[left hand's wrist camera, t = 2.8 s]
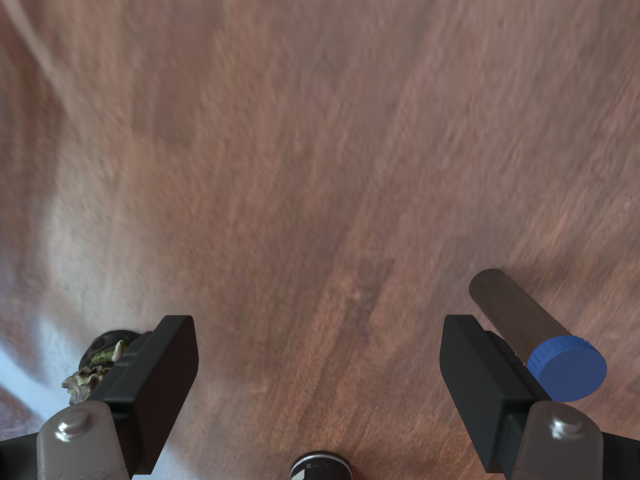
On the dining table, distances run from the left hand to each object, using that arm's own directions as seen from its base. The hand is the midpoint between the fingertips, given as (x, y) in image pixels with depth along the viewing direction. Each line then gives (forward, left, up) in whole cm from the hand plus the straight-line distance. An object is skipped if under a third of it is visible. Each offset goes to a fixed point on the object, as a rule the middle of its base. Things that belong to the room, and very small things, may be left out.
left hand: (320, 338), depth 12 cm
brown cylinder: (-13, -20, -29) cm, 38 cm away
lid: (-13, -20, -14) cm, 28 cm away
